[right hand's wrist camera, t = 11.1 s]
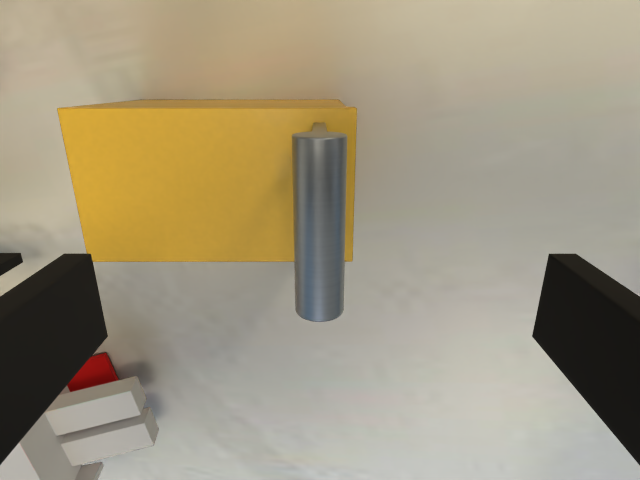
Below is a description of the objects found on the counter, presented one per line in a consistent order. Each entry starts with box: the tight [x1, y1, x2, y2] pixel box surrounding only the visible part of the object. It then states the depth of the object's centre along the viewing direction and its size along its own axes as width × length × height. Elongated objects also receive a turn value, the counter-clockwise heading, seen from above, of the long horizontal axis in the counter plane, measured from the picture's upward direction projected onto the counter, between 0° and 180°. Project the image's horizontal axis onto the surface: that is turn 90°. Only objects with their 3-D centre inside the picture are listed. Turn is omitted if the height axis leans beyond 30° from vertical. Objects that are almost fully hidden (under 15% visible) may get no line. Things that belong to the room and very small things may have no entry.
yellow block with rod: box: [57, 107, 357, 322], centre depth 21 cm, size 16×9×9 cm, turn 90°
